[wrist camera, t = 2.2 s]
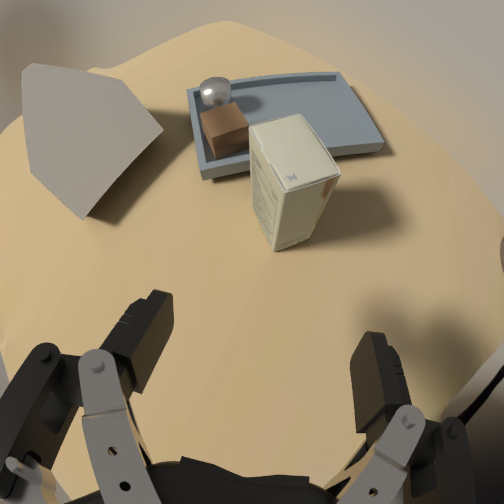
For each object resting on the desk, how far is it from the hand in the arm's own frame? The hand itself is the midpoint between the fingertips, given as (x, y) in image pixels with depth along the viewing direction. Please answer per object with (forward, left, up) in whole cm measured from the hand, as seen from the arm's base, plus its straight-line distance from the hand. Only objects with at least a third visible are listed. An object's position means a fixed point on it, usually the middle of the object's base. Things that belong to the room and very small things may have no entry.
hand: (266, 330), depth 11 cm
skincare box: (-5, -10, -16) cm, 20 cm away
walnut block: (-1, -20, -14) cm, 25 cm away
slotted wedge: (+17, -26, -16) cm, 35 cm away
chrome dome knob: (-1, -26, -14) cm, 30 cm away
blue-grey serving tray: (-9, -23, -16) cm, 30 cm away
